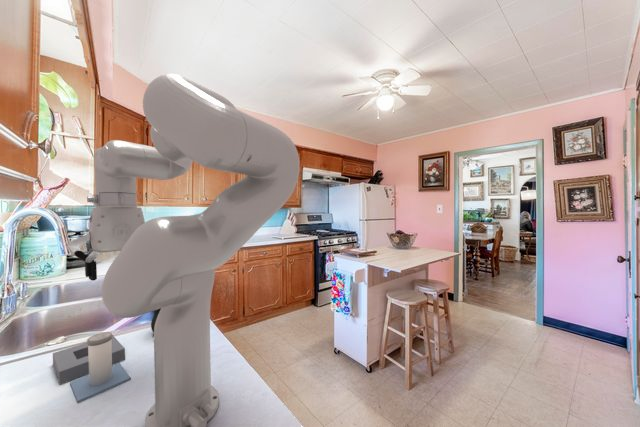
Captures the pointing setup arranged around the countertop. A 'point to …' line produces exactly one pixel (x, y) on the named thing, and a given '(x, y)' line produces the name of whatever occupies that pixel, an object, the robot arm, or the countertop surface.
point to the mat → (86, 391)
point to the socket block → (80, 360)
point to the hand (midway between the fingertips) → (119, 274)
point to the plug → (100, 358)
